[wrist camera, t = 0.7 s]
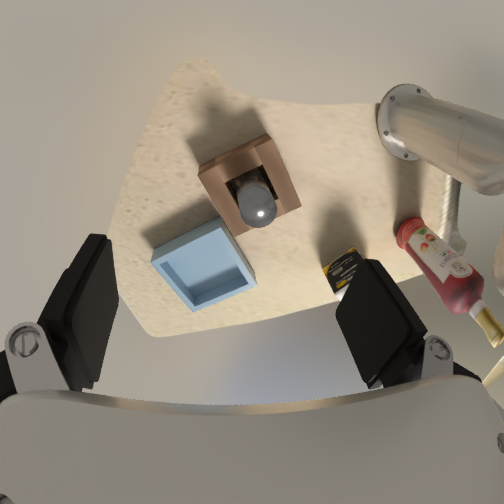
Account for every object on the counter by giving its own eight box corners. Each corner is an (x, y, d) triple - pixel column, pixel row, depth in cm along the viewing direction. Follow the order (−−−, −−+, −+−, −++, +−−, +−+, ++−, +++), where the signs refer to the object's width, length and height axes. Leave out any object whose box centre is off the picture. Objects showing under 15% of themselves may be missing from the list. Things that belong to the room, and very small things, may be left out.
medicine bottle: (353, 245, 46) (385, 290, 37) (368, 267, 50) (397, 311, 40) (321, 268, 48) (345, 317, 39) (338, 288, 52) (361, 335, 42)
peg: (255, 161, 36) (268, 188, 28) (267, 185, 39) (282, 218, 30) (229, 174, 37) (233, 204, 29) (242, 198, 39) (249, 233, 31)
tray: (220, 215, 40) (220, 227, 37) (254, 271, 47) (257, 285, 44) (154, 249, 42) (150, 262, 39) (193, 298, 49) (193, 312, 46)
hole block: (267, 133, 34) (272, 139, 31) (294, 194, 40) (301, 206, 36) (199, 166, 36) (197, 175, 32) (232, 223, 41) (234, 237, 38)
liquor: (392, 251, 48) (474, 366, 25) (391, 219, 44) (492, 338, 21) (421, 238, 48) (507, 342, 25) (422, 207, 44) (525, 311, 21)
